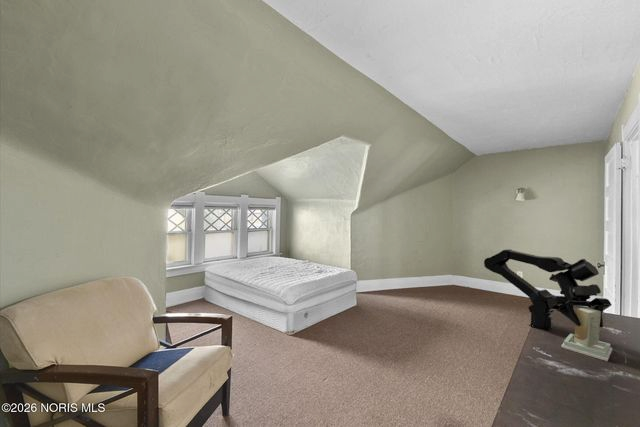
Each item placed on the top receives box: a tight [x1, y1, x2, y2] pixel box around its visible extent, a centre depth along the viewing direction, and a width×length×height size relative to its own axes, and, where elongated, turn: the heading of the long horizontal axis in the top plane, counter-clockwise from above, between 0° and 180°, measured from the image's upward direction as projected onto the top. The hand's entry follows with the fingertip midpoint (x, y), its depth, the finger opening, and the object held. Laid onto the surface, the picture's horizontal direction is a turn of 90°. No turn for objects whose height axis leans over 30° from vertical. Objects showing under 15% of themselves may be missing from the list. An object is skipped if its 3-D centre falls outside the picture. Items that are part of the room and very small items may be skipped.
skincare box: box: [573, 306, 601, 347], centre depth 106 cm, size 6×4×12 cm
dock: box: [560, 332, 613, 362], centre depth 106 cm, size 12×12×2 cm
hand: (590, 326), depth 105 cm, fingers closed on skincare box, 7 cm apart
